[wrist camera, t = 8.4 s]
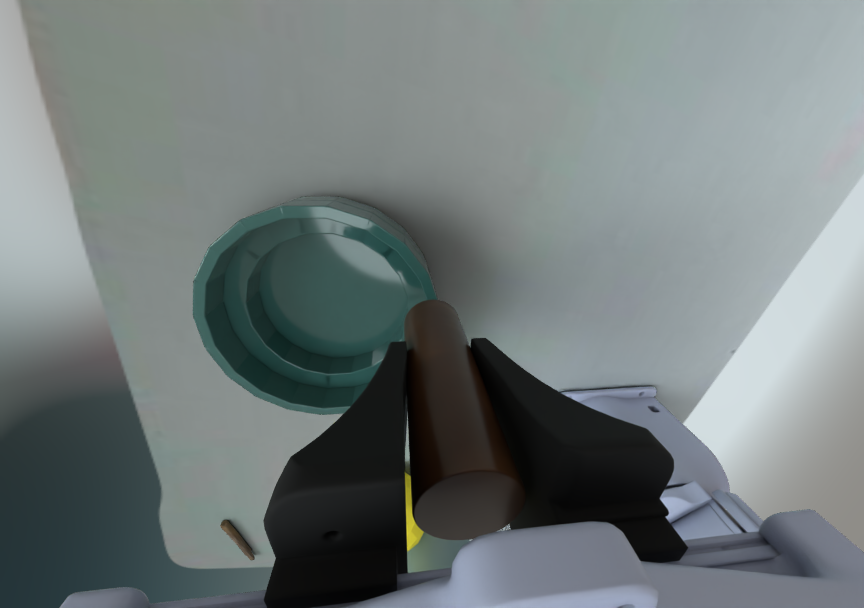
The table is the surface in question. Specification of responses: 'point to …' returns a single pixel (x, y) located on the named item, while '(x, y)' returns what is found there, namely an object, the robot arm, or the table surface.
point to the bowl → (308, 300)
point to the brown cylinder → (454, 433)
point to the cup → (433, 553)
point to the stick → (237, 539)
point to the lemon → (411, 518)
